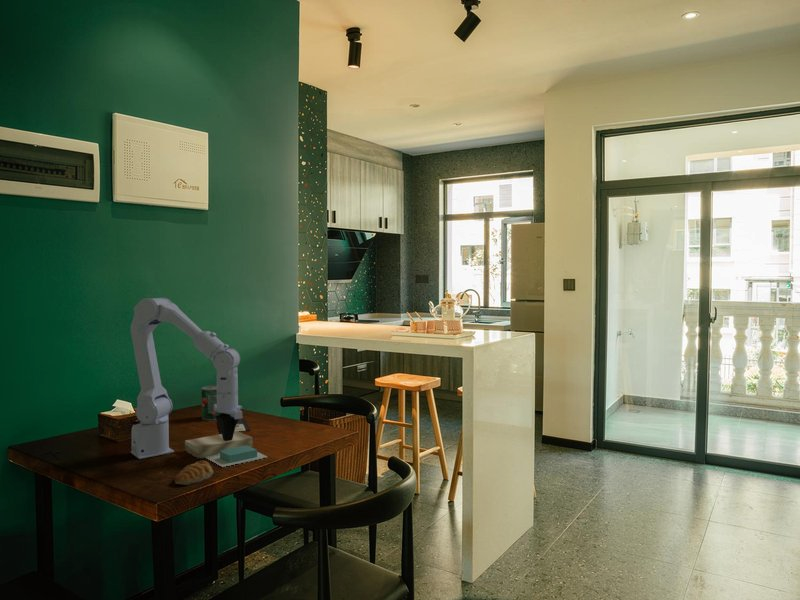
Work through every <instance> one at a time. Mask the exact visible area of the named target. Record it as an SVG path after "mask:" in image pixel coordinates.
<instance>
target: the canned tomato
mask: <svg viewBox="0 0 800 600" xmlns="http://www.w3.org/2000/svg"><path fill="white" fill-rule="evenodd" d="M214 404H217V385H206V386H203V387H201V420H204V421H217V420H216V418H215V416H217V415H220V414H221V413H219V412H216V411H214Z"/></svg>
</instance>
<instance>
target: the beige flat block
mask: <svg viewBox="0 0 800 600" xmlns="http://www.w3.org/2000/svg"><path fill="white" fill-rule="evenodd" d="M253 441H254V440H253V437H252V436H250V435H247V434H245V433H244V432H238V431H235V432H234V435H233V439H232V440H229V441H224V440H223V437H222V434H221V433H219V434H214V435H209V436H202V437H199V438H198V437H197V438H191V439H187V440H184V449H185V450H184V451H185V452H186V451H187V452H186V453H188V454H190V455H191V454H192V456H193V457H195V458H196V457H197V458H196V459H199V458H200V459H205V458H204V456H209V455H214V454H219V453H220V451H221V450H226V449H231V448H236V447H241V446H246V445H248V446H250V447H253V448H254V446H253V445H254V443H253ZM200 459H199V460H200Z"/></svg>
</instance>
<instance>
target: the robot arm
mask: <svg viewBox="0 0 800 600" xmlns="http://www.w3.org/2000/svg"><path fill="white" fill-rule="evenodd" d="M133 312H134V314H133V318H132V321H131V324H130V334H131V340H132V345H133V346H132V347H133V351H134V357H135V358H134V359H135V363H136V369H137V374H138V379H139V385H140V392H139V394H138V396H137V397H136V402H137V406H136V409H135V414H136V417H137V420H138V421H139V422H140V423H137V424H133V425H132V426H131V434H130V435H131V436H130V437H131V450H130V453H131V454H132V455H133V456H135V457H136V458H137V459H139V460H141V459H147V458H151V457H157V456H161V455H168V454H172V453H174V452H175V450H174V449H172V448H171V447H170V441H169V440H170V438H169V437H170V436H169V434H170V433H169V432H170V429H169V428H170V427H169V419H170V418H169V415H170V414H171V412H172V410H173V402H172V399H171V398H170V397H169V394H168V390H167V389H166V388H165V387H164V386H163V385H162V380H161V375H160V374H161V373H160V370H159V369H160V367H159V364H158V358H157V352H156V348H155V340H154V336H153V331H154V330H155V329H156V328H157V327H158V326H159V325H160V324H161V323H162V322H164V323H169V324H170V323H171V324H173V325H174V326H175V327H177V328H178V329H180V331H182V332H183V333H184V334H185V335H187V336H188V337H189V338H191V339H192V340H193V344H194V347H195V348H196V349H197V350H198V351H199V352H201V353H202V354H203V355H204V356H205V357H207V358H208V359H209V360H211V362H212V365H213V367H214V368H215V371H216V386H217V404H214V411H216V412H219V413H221V414H220V415H217V416H215V418H216V420H215V421H217V423H218V427H219V426H220V428H219V430H220V429H221V432H220V434H221V433H222V437H223V440H224V441H229V440H232V439H233V435H234V430H235V427H236V424H237V422H238V420H239V419H241V418H243V410H241V409H243V406H242V405H239V381H238V380H239V379H238V378H239V377H238V375H239V374H238V372H239V371H238V366H239V364H240V362H241V355H240V352H238V350H237V349H236V348H234V347H233V348H232V347H230V345H229V344H227V343H224V341H223V342H222V340H220V339H219V338H218V337H217V333H216V332H213V331H212V332H211V331H210V330H205V331H204V330H202V329H201V328H200V327H199V326H198V325H197V324H196V323H195V322H194V321H193V320H192V319H191V318H189V317H188V316H187V315H186V313H184V312H183V311H182V310H181V309H180V308H179V306H178V305H177V304H175V303H174V302H172V301H171V300H170V299H169V298H166V297H156V298H155V297H154V298H153V297H152V298H151V297H146V298H143V299H141V300H139V302H137V304H136V305H135V306H133Z"/></svg>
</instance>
